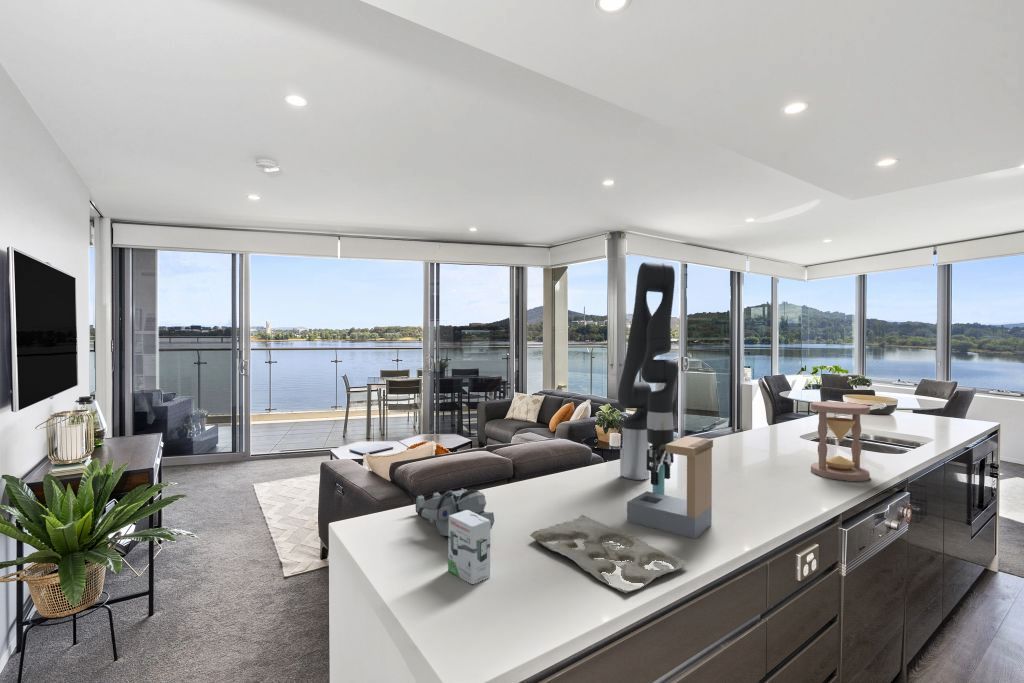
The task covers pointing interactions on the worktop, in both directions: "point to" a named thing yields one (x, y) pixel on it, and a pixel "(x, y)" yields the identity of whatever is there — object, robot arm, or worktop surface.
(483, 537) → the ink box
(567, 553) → the stone relief
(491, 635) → the worktop surface
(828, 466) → the hourglass
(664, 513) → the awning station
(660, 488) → the peg
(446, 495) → the toy
